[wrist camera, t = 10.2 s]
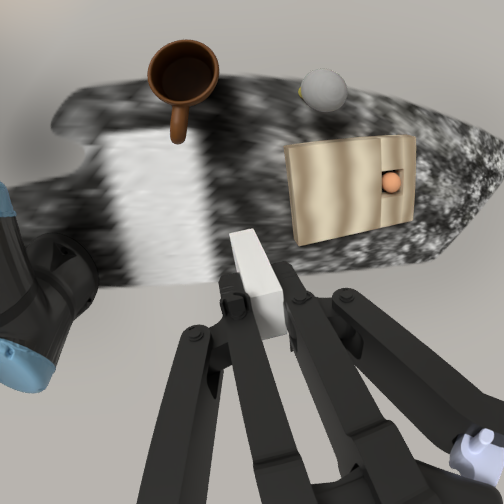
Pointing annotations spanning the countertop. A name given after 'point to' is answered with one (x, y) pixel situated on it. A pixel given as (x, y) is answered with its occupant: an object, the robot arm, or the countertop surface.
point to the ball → (391, 182)
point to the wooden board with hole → (349, 185)
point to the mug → (183, 80)
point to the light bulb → (323, 90)
